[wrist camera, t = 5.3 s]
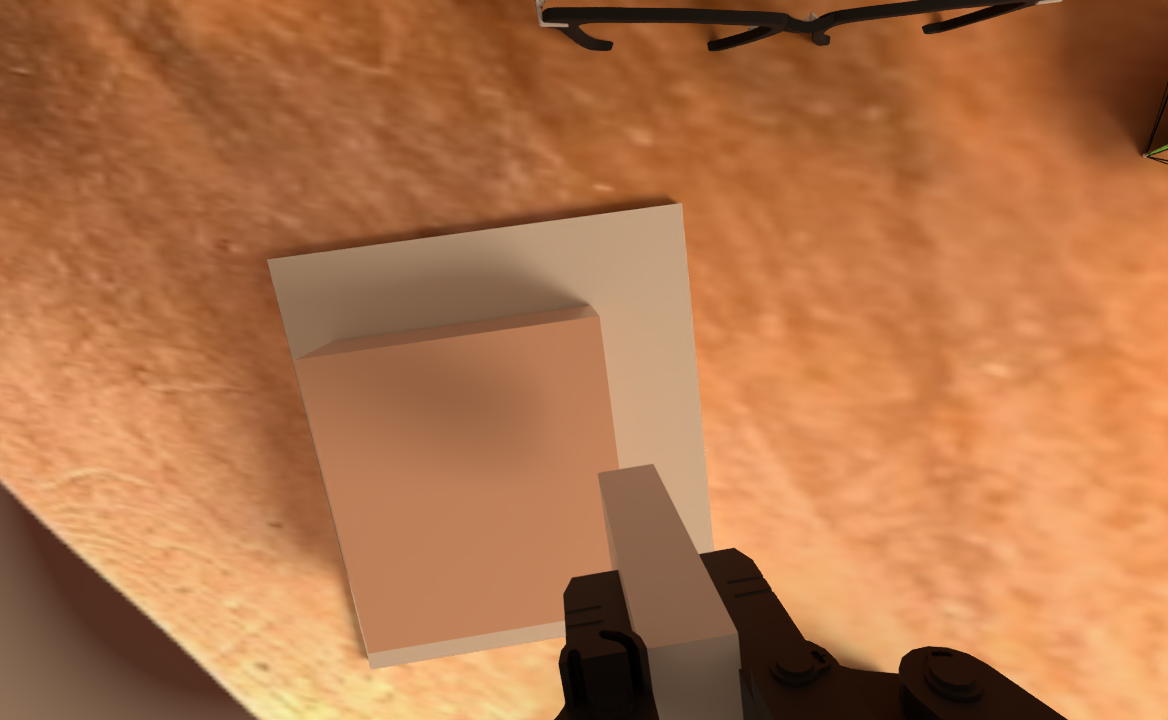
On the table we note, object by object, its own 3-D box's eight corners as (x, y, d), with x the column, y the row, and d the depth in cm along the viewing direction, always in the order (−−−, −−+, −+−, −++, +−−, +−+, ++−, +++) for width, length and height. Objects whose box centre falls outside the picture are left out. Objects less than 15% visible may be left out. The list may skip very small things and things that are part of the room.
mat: (272, 259, 19) (266, 259, 19) (678, 203, 20) (681, 202, 19) (373, 661, 22) (370, 669, 22) (716, 604, 23) (719, 610, 23)
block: (590, 304, 20) (331, 341, 19) (599, 316, 17) (294, 360, 16) (624, 558, 22) (392, 596, 22) (637, 608, 19) (368, 653, 19)
